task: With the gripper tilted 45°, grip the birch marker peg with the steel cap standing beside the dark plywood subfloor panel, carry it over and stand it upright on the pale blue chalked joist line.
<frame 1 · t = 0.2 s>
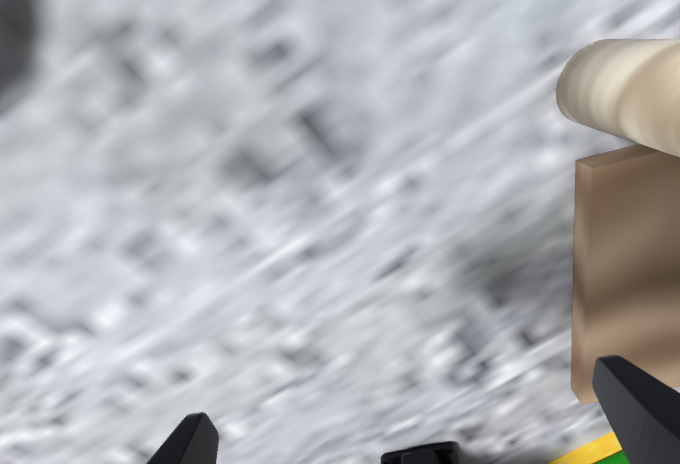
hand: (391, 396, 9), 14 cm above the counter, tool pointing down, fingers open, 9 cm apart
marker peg: (596, 83, 19), on the counter
dish sponge: (621, 444, 34), on the counter
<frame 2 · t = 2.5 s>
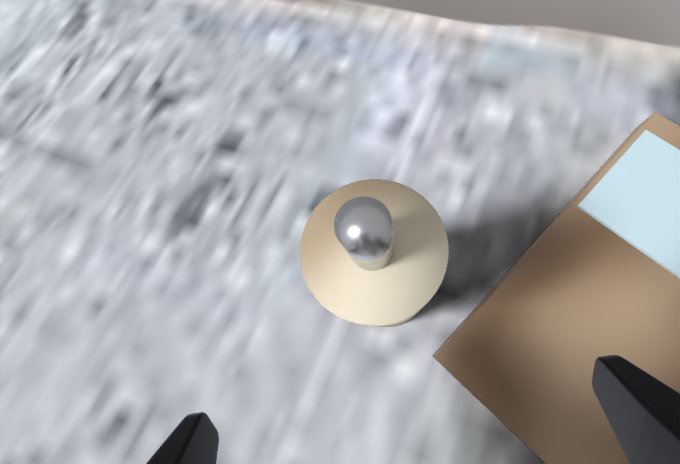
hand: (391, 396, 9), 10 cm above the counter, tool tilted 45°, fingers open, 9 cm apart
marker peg: (386, 287, 20), on the counter
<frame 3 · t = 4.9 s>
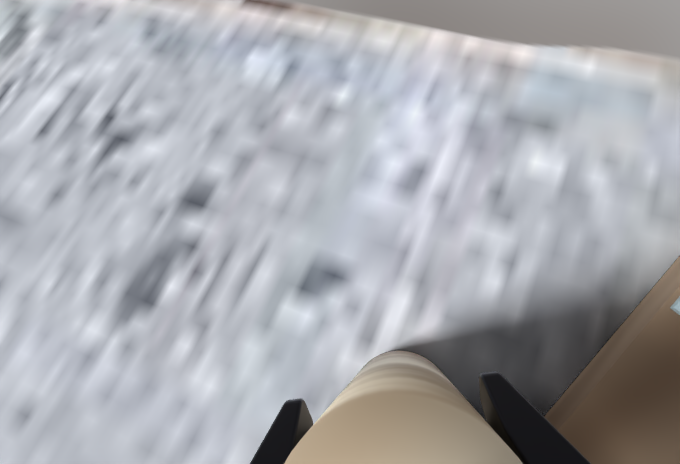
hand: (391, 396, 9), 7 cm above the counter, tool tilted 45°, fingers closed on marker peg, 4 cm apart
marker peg: (401, 404, 15), on the counter, touching gripper
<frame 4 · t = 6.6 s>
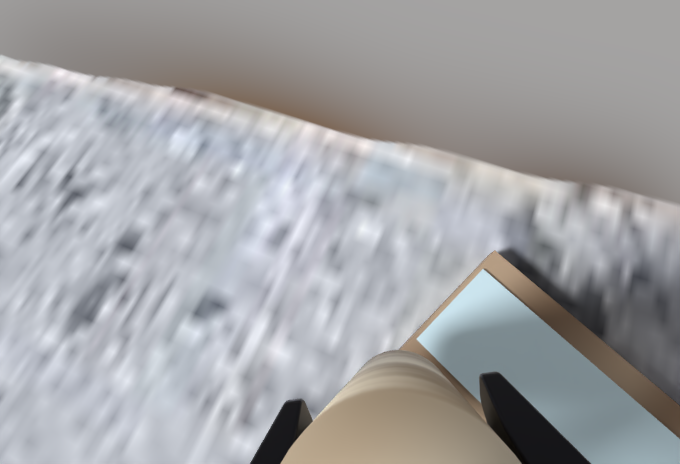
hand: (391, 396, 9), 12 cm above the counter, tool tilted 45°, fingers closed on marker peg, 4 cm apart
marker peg: (400, 403, 15), point 6 cm above the counter, touching gripper
when the fingers open (9 cm above the counter, at t = 8.4 s): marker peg drops 1 cm, resting on subfloor panel.
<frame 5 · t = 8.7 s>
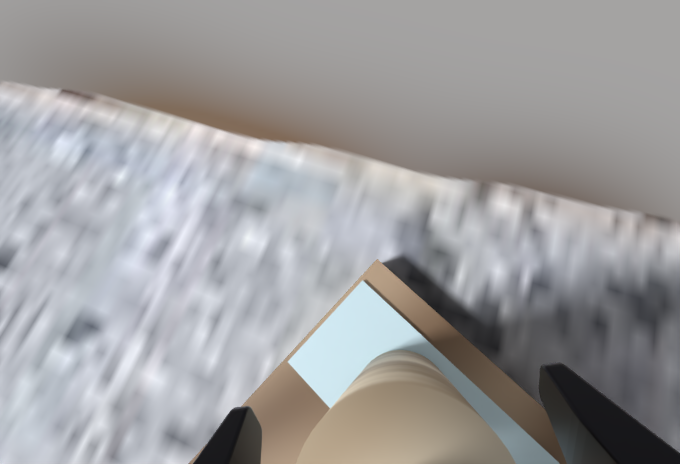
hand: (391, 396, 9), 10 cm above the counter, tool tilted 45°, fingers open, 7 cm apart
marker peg: (402, 399, 16), point 2 cm above the counter, touching subfloor panel
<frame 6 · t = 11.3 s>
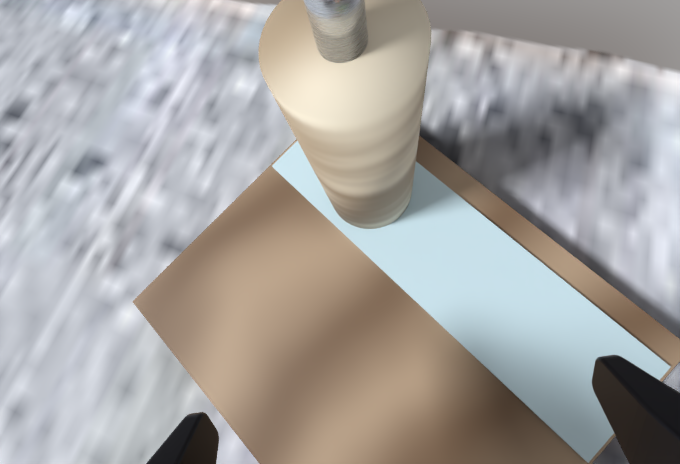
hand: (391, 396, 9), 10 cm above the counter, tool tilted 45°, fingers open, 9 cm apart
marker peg: (370, 189, 18), point 2 cm above the counter, touching subfloor panel
subfloor panel: (380, 322, 18), on the counter
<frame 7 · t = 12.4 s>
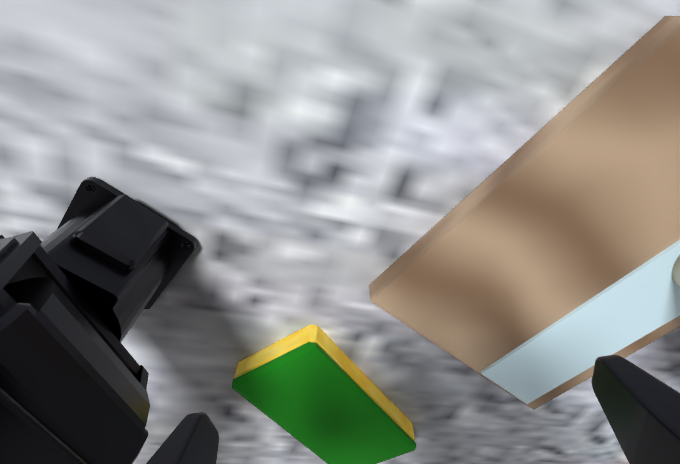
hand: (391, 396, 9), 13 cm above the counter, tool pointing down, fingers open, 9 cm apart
dish sponge: (330, 389, 29), on the counter
subfloor panel: (575, 256, 22), on the counter
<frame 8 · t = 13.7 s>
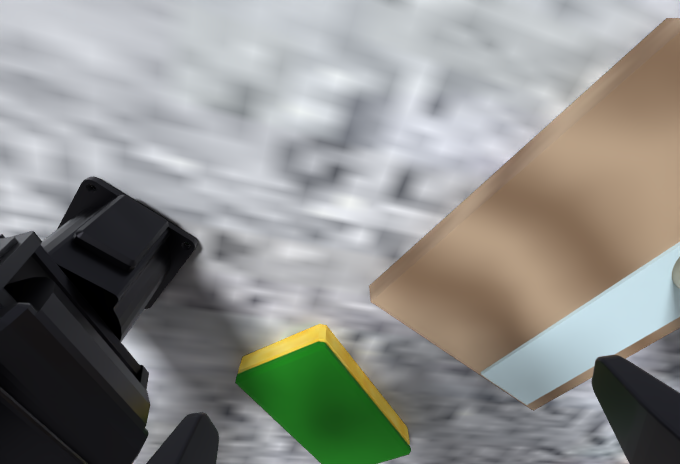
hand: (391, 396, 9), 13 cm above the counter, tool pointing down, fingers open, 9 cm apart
dish sponge: (330, 389, 29), on the counter
subfloor panel: (575, 257, 22), on the counter
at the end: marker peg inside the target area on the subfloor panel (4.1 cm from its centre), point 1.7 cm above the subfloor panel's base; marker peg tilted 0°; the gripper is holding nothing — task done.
